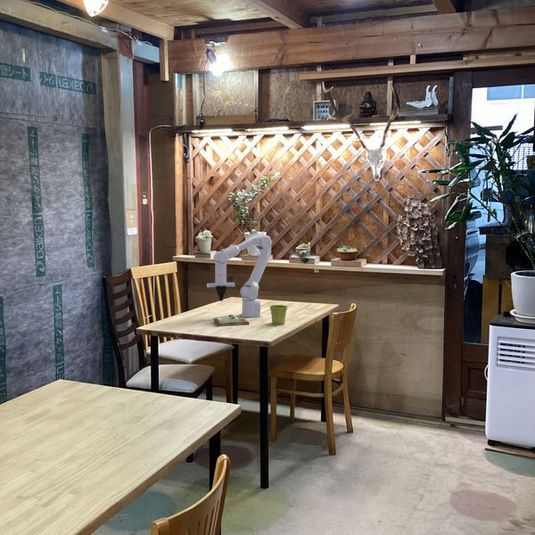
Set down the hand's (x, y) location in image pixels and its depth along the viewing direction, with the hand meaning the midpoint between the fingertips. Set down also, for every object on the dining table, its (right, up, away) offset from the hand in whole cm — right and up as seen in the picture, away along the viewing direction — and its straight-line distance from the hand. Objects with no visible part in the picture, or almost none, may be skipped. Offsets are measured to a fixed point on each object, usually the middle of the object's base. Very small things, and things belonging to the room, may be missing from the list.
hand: (220, 300), depth 319 cm
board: (+6, -11, -12) cm, 17 cm away
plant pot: (+30, -11, -10) cm, 33 cm away
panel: (+4, -10, -12) cm, 16 cm away
